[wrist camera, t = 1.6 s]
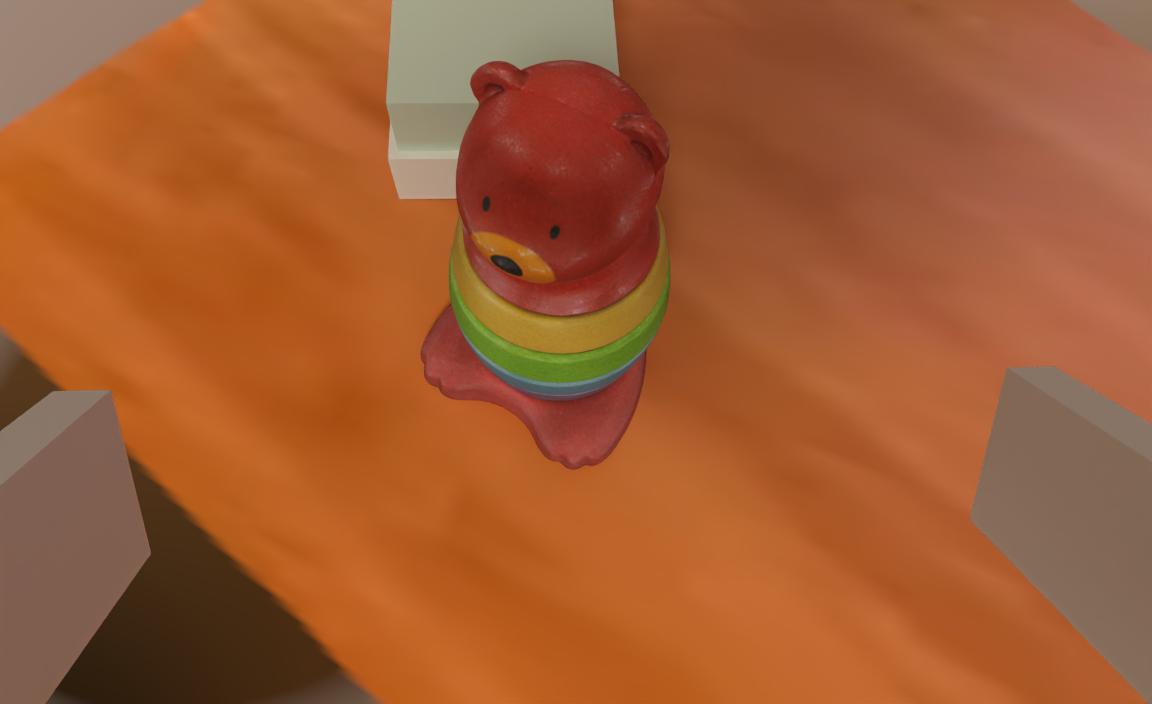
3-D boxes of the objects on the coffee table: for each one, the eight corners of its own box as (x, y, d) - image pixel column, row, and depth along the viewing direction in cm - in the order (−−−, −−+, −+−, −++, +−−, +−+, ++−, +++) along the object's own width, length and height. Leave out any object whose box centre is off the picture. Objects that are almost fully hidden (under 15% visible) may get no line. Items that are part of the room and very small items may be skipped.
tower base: (602, 9, 47) (613, -95, 41) (617, 197, 42) (632, 111, 35) (409, 7, 46) (389, -99, 40) (399, 199, 41) (374, 112, 35)
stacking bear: (404, 373, 37) (303, 142, 21) (516, 226, 41) (504, -70, 24) (591, 487, 36) (641, 333, 19) (691, 323, 39) (804, 76, 23)
